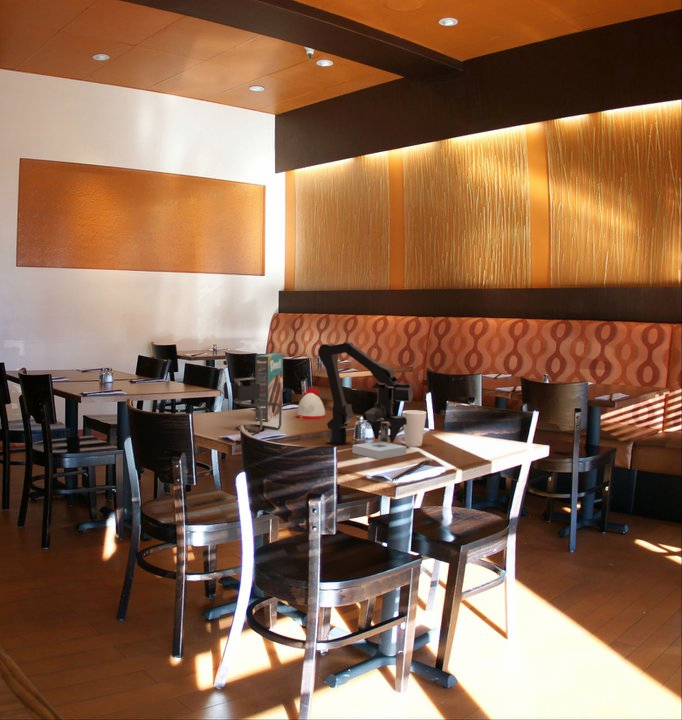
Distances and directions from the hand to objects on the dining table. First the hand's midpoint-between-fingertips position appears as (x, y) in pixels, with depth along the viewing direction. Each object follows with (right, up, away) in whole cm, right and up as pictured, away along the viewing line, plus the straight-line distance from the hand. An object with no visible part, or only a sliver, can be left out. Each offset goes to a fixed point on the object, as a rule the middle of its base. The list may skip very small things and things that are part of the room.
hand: (384, 440), depth 293 cm
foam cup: (+12, -3, +6) cm, 14 cm away
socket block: (-2, -4, -12) cm, 13 cm away
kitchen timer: (-31, +3, +73) cm, 80 cm away
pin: (0, -3, 0) cm, 3 cm away
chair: (-52, +1, +36) cm, 63 cm away
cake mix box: (-50, +3, +69) cm, 85 cm away
